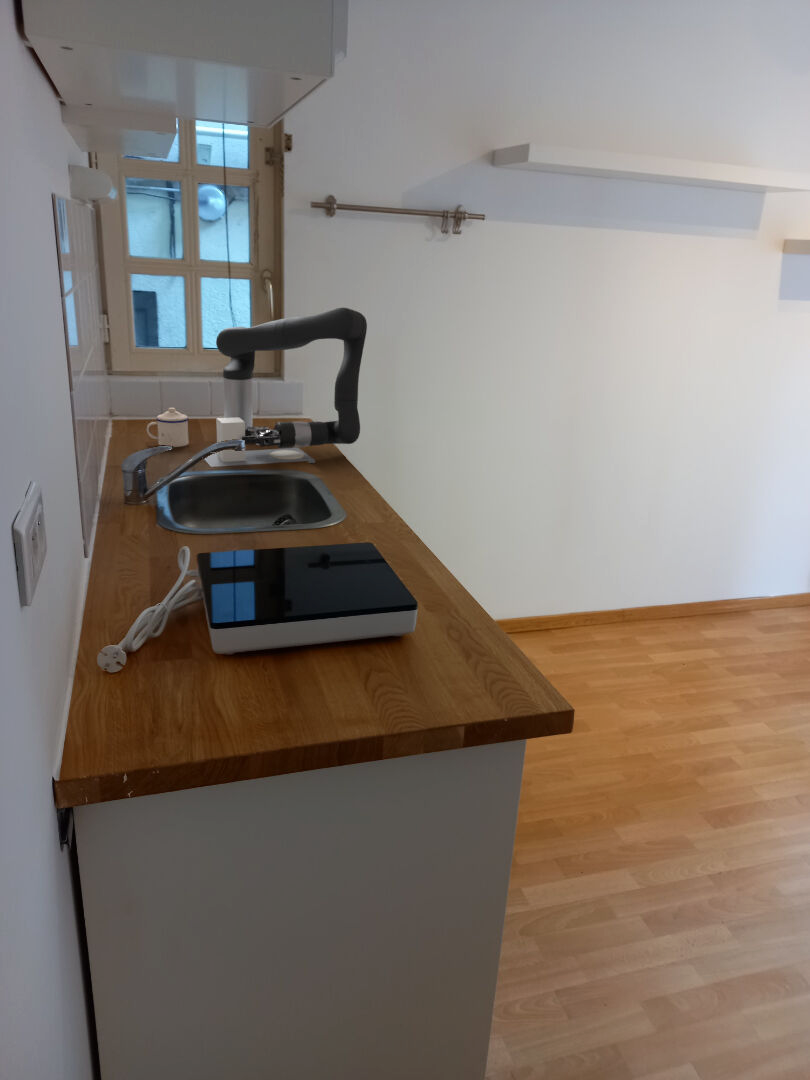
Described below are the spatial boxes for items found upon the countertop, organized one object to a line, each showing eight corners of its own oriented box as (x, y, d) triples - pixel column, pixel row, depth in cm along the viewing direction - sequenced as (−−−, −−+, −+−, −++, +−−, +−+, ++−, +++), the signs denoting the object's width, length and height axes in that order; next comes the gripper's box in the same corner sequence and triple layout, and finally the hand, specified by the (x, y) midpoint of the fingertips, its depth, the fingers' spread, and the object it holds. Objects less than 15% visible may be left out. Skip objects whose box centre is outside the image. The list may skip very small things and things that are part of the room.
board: (199, 456, 225) (198, 452, 224) (298, 451, 238) (298, 447, 237) (211, 470, 212) (211, 466, 212) (315, 463, 225) (315, 459, 225)
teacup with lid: (190, 443, 239) (189, 405, 235) (188, 450, 231) (186, 411, 227) (149, 442, 237) (147, 404, 233) (146, 450, 229) (143, 410, 224)
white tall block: (217, 456, 223) (216, 418, 219) (239, 454, 225) (238, 417, 222) (222, 461, 217) (221, 423, 214) (245, 460, 220) (244, 422, 216)
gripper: (285, 416, 232) (231, 419, 225) (301, 427, 220) (244, 429, 213) (285, 441, 234) (231, 444, 227) (300, 453, 223) (244, 456, 216)
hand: (238, 437), depth 220 cm, fingers open, 8 cm apart
